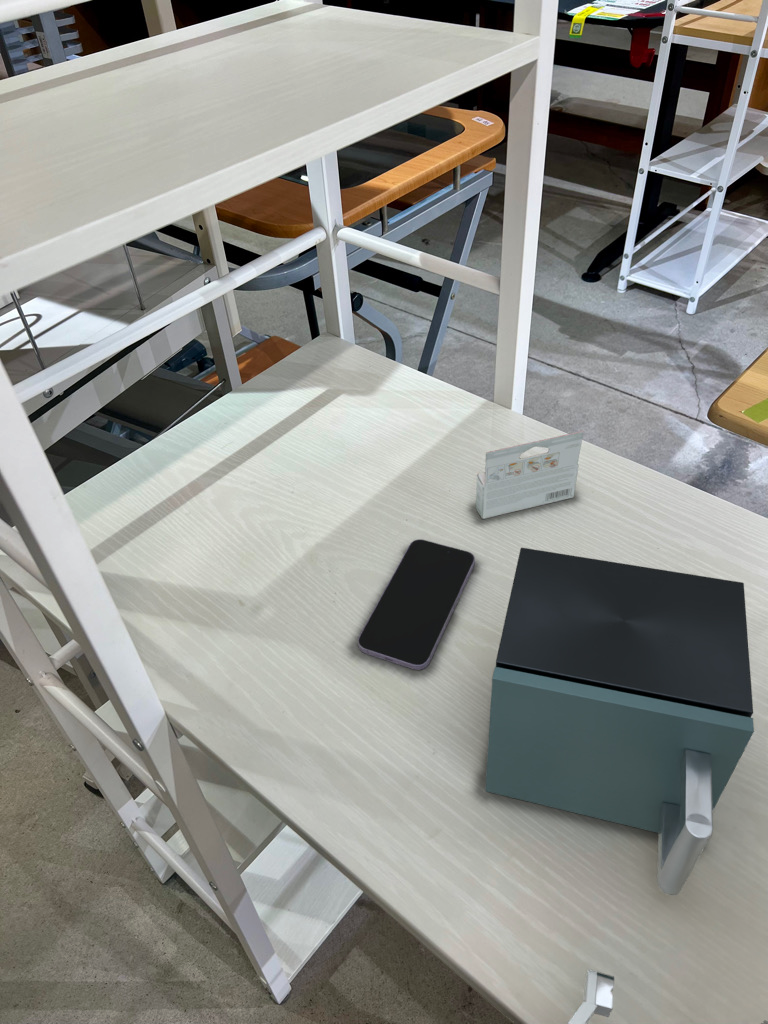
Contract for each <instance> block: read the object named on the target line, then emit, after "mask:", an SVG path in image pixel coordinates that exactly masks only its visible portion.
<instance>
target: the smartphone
mask: <svg viewBox="0 0 768 1024" xmlns="http://www.w3.org/2000/svg"><path fill="white" fill-rule="evenodd" d="M475 563H476V558H475V555H474V554H473V553H472V552H471V551H469V550H468V551H467V550H465V549H460V548H457V547H452V546H449V545H445V544H441V543H438V542H434V541H430V540H426V539H415V540H413V541H412V542H410V544H409V545H408V547H407V548H406V551H405V553H404V554H403V556H402V557H401V559H400V562H399V563H398V565H397V566H396V569H395V570H394V573H393V574H392V576H391V578H390V580H389V581H388V583H387V585H386V587H385V589H384V590H383V591H382V594H381V596H380V597H379V599H378V601H377V603H376V605H375V607H374V609H373V610H372V612H371V614H370V616H369V618H368V619H367V620H366V623H365V625H364V627H363V628H362V630H361V632H360V634H359V636H358V639H357V646H358V649H359V650H360V652H362V653H363V654H366V655H369V656H372V657H374V658H377V659H381V660H384V661H387V662H389V663H393V664H396V665H399V666H402V667H404V668H409V669H411V670H415V671H421V670H424V669H426V668H427V667H428V666H429V665H430V663H431V661H432V658H433V656H434V654H435V652H436V650H437V648H438V645H439V643H440V641H441V640H442V636H443V635H444V632H445V631H446V628H447V626H448V625H449V622H450V620H451V617H452V615H453V613H454V611H455V609H456V606H457V604H458V602H459V600H460V598H461V596H462V594H463V592H464V589H465V588H466V585H467V582H468V580H469V578H470V576H471V574H472V573H473V570H474V568H475Z"/></svg>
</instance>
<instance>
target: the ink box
mask: <svg viewBox="0 0 768 1024" xmlns="http://www.w3.org/2000/svg"><path fill="white" fill-rule="evenodd" d="M583 437H584V430H581V431H577V432H572V433H567V434H563V435H558V436H555V437H550V438H545V439H541V440H536V441H531V442H527V443H522V444H518V445H513V446H508V447H504V448H499V449H495V450H490V451H487V452H485V467H484V472H480V473H476V487H475V489H476V490H475V492H476V493H475V494H476V495H475V509H476V511H477V513H478V514H479V516H480V518H481V519H485V520H486V519H488V518H493V517H497V516H501V515H502V516H503V515H506V514H510V513H514V512H518V511H522V510H523V511H524V510H527V509H530V508H534V507H539V506H543V505H548V504H553V503H556V502H561V501H564V500H568V499H573V498H574V497H575V492H576V488H577V487H576V485H577V479H578V472H579V466H580V465H579V460H580V453H581V448H582V442H583ZM535 447H538V448H544V449H548V451H547V452H542V453H538V454H534V455H530V456H525V457H521V455H522V454H524V453H526V452H527V451H529V450H531V449H533V448H535Z"/></svg>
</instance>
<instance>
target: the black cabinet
mask: <svg viewBox="0 0 768 1024" xmlns="http://www.w3.org/2000/svg"><path fill="white" fill-rule="evenodd" d="M515 567H516V568H515V572H514V576H513V581H512V584H511V585H512V586H511V592H510V595H509V600H508V603H507V608H506V613H505V618H504V623H503V628H502V632H501V637H500V641H499V645H498V650H497V654H496V659H495V667H499V668H504V669H509V670H514V671H519V672H524V673H529V674H534V675H539V676H544V677H549V678H554V679H559V680H565V681H570V682H575V683H580V684H585V685H590V686H595V687H600V688H605V689H610V690H615V691H620V692H625V693H630V694H635V695H640V696H645V697H650V698H655V699H660V700H665V701H670V702H675V703H680V704H685V705H690V706H695V707H700V708H705V709H710V710H715V711H720V712H725V713H730V714H735V715H740V716H745V717H750V718H752V716H753V714H754V707H753V705H754V704H753V691H752V690H753V689H752V678H751V676H752V675H751V665H750V651H749V636H748V622H747V608H746V594H745V583H744V582H740V581H736V580H730V579H723V578H716V577H710V576H705V575H704V576H703V575H698V574H692V573H691V574H690V573H684V572H679V571H671V570H665V569H659V568H653V567H649V566H648V567H647V566H641V565H634V564H627V563H623V562H622V563H621V562H616V561H608V560H603V559H596V558H590V557H585V556H584V557H583V556H577V555H571V554H565V553H558V552H552V551H545V550H541V549H540V550H539V549H535V548H527V547H520V550H519V553H518V558H517V563H516V566H515Z"/></svg>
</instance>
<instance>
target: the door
mask: <svg viewBox="0 0 768 1024" xmlns="http://www.w3.org/2000/svg"><path fill="white" fill-rule="evenodd" d="M492 673H493V674H492V678H491V692H490V707H489V708H490V710H489V724H488V738H487V739H488V741H487V757H486V770H485V771H486V772H485V788H484V791H485V792H487V793H491V794H495V795H500V796H503V797H507V798H512V799H516V800H520V801H525V802H528V803H533V804H537V805H541V806H545V807H549V808H554V809H558V810H562V811H566V812H570V813H575V814H579V815H583V816H585V817H591V818H595V819H599V820H603V821H607V822H612V823H616V824H620V825H624V826H628V827H632V828H636V829H639V830H640V829H641V830H644V831H648V832H653V833H656V834H658V837H657V838H658V839H657V875H656V882H657V886H658V888H659V889H660V891H661V892H663V894H665V895H668V896H671V897H672V896H677V895H679V894H680V893H681V891H682V890H683V888H684V886H685V884H686V883H687V881H688V879H689V876H690V874H691V873H692V871H693V870H694V868H695V865H696V864H697V862H698V860H699V858H700V857H701V855H702V853H703V851H704V849H705V847H706V846H707V843H708V842H709V840H710V839H711V836H712V835H713V832H714V817H713V816H714V815H713V813H714V812H713V811H714V809H715V807H716V806H717V804H718V802H719V800H720V797H721V796H722V795H723V792H724V791H725V789H726V786H727V784H728V782H729V781H730V779H731V777H732V774H733V773H734V771H735V769H736V767H737V765H738V763H739V761H740V759H741V758H742V756H743V754H744V752H745V750H746V748H747V746H748V744H749V742H750V740H751V738H752V737H753V735H754V733H755V726H754V725H755V724H754V717H751V718H750V717H745V716H740V715H735V714H730V713H725V712H720V711H715V710H710V709H705V708H700V707H695V706H690V705H685V704H680V703H675V702H670V701H665V700H660V699H655V698H650V697H645V696H640V695H635V694H630V693H625V692H620V691H615V690H610V689H605V688H600V687H595V686H590V685H585V684H580V683H575V682H570V681H565V680H559V679H554V678H549V677H544V676H539V675H534V674H529V673H524V672H519V671H514V670H509V669H504V668H499V667H496V666H494V668H493V672H492Z"/></svg>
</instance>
